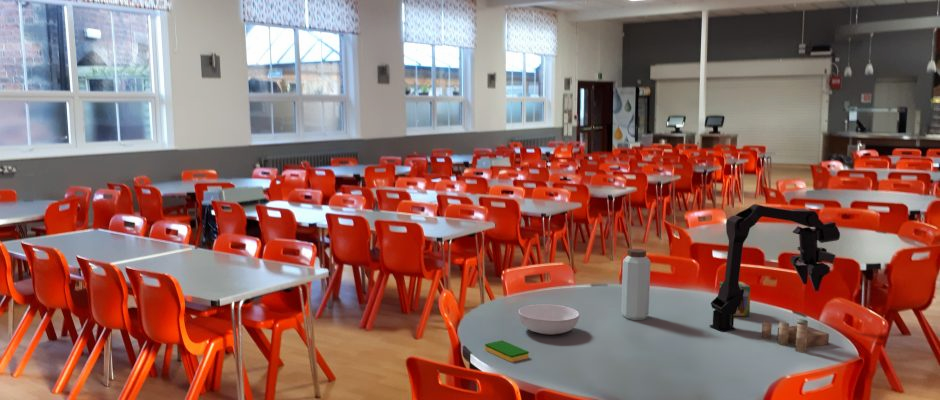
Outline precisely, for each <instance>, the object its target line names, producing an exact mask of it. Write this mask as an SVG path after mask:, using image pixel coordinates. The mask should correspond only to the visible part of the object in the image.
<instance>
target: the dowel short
mask: <svg viewBox="0 0 940 400" xmlns="http://www.w3.org/2000/svg"><path fill="white" fill-rule="evenodd" d="M761 324H762V325H761V338H762V339H766V340H767V339H768V340H769V339H771V338H772V330H773V329H772V327H773V324H772V322H770V321H762V322H761Z"/></svg>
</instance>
